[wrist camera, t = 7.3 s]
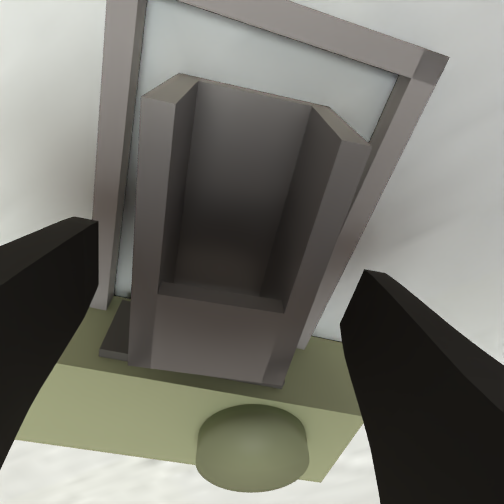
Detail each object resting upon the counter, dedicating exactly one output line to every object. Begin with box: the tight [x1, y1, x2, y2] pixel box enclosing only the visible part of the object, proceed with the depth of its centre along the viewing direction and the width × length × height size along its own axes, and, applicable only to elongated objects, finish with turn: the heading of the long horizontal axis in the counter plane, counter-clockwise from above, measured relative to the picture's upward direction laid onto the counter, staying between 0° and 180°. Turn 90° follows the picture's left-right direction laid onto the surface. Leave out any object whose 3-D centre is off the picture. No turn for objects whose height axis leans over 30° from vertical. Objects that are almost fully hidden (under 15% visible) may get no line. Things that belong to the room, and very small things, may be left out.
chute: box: [128, 73, 372, 386], centre depth 12 cm, size 8×5×5 cm, turn 168°
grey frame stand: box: [15, 0, 450, 492], centre depth 13 cm, size 14×17×5 cm
